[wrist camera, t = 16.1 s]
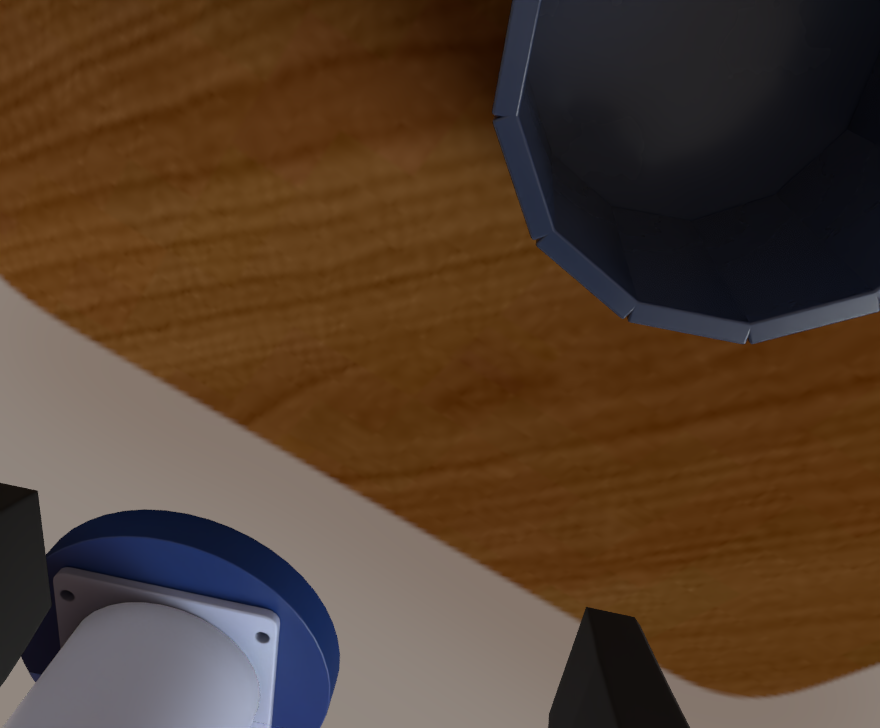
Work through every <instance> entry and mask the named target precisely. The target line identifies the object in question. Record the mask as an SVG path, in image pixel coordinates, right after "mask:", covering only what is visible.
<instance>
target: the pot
mask: <svg viewBox="0 0 880 728" xmlns="http://www.w3.org/2000/svg"><path fill="white" fill-rule="evenodd" d="M492 114H493V115H495V116H494V119H493V126H494V129H495V132H496V135H497V138H498V141H499V144H500V147H501V149H502V152H503V155H504V158H505V161H506V164H507V167H508V170H509V173H510V176H511V179H512V182H513V185H514V188H515V191H516V194H517V197H518V200H519V203H520V206H521V209H522V212H523V215H524V218H525V221H526V224H527V227H528V230H529V233H530V236H531V238H532V239H533V240H536V246H537V247H538V248H539V249H540V250H542V251H543V252H544V253H545V254H546V255H548V256H549V257H550V258H551V259H552V260H553V261H555V262H556V263H557V264H558V265H559V266H560V267H562V268H563V269H564V270H565V271H566V272H567V273H569V274H570V275H571V276H572V277H573V278H575V279H576V280H577V281H578V282H579V283H580V284H582V285H583V286H584V287H585V288H586V289H587V290H589V291H590V292H591V293H592V294H593V295H594V296H596V297H597V298H598V299H599V300H600V301H602V302H603V303H604V304H605V305H606V306H607V307H609V308H610V309H611V310H612V311H613V312H614V313H616V314H617V315H618V316H619V317H620V318H622V319H624V318H625V317H626V316H627V319H628V321H629V322H631V323H637V324H642V325H647V326H652V327H657V328H662V329H667V330H672V331H678V332H683V333H688V334H693V335H698V336H703V337H708V338H713V339H719V340H724V341H729V342H734V343H739V344H745V343H746V341H747V339H748V341H749V342H750V343H751V344H755V343H759V342H763V341H766V340H770V339H774V338H778V337H782V336H786V335H790V334H794V333H798V332H802V331H806V330H809V329H813V328H817V327H821V326H825V325H829V324H833V323H837V322H841V321H845V320H849V319H852V318H856V317H860V316H864V315H868V314H872V313H876V312H879V311H880V0H512V4H511V10H510V15H509V21H508V26H507V32H506V37H505V43H504V48H503V54H502V59H501V64H500V70H499V75H498V81H497V86H496V92H495V97H494V103H493V108H492Z"/></svg>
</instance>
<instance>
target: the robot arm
mask: <svg viewBox="0 0 880 728" xmlns="http://www.w3.org/2000/svg"><path fill="white" fill-rule="evenodd" d="M53 585H54V594H55V603H56V612H57V621H58V629H59V638H60V647H61V649H60V651H59V652H58V653H57V655H56V656H55V657H54V659H53V660H52V661H51V663H50V664H49V665H48V667H47V668H46V670H45V671H44V672H43V674H42V675H41V676H40V678H39V679H38V680H37V682H36V683H35V684H34V686H33V687H32V688H31V690H30V691H29V692H28V694H27V695H26V696H25V698H24V699H23V701H22V702H21V703H20V704H19V706H18V707H17V708H16V710H15V711H14V712H13V714H12V715H11V716H10V718H9V719H8V720H7V722H6V723H5V725H4V726H3V727H2V728H272V716H273V704H274V692H275V680H276V668H277V655H278V643H279V631H280V619H279V617H278V616H277V614H276V613H274V612H273V611H271V610H268V609H264V608H260V607H255V606H250V605H246V604H241V603H236V602H231V601H227V600H222V599H217V598H213V597H208V596H203V595H199V594H194V593H189V592H184V591H180V590H175V589H170V588H166V587H161V586H156V585H152V584H147V583H142V582H138V581H133V580H128V579H123V578H119V577H114V576H109V575H105V574H100V573H95V572H91V571H86V570H81V569H76V568H72V567H65V568H61V570H60V571H59V572H58V573H57V574H56V575H55V576H54V579H53ZM51 606H52V604H51V596H50V588H49V579H48V571H47V563H46V555H45V547H44V539H43V531H42V522H41V515H40V506H39V498H38V491H36V490H31V489H27V488H22V487H17V486H12V485H8V484H3V483H0V686H1V685H2V684H3V682H4V681H5V680H6V678H7V677H8V675H9V674H10V672H11V671H12V669H13V667H14V666H15V665H16V663H17V661H18V660H19V658H20V657H21V655H22V654H23V652H24V651H25V649H26V647H27V646H28V644H29V643H30V641H31V639H32V638H33V636H34V634H35V633H36V631H37V629H38V628H39V626H40V624H41V623H42V621H43V619H44V618H45V616H46V614H47V613H48V611H49V609H50V608H51ZM262 632H263V633H262ZM264 633H266V634H264ZM548 728H690V727H689V725H688V723H687V721H686V719H685V717H684V715H683V713H682V711H681V709H680V707H679V705H678V703H677V701H676V699H675V697H674V695H673V693H672V691H671V689H670V687H669V685H668V683H667V681H666V679H665V677H664V675H663V673H662V671H661V669H660V667H659V665H658V662H657V660H656V658H655V656H654V654H653V652H652V650H651V648H650V646H649V644H648V641H647V639H646V637H645V635H644V633H643V631H642V629H641V627H640V625H639V623H638V622H637V620H636V619H635V617H631V616H626V615H621V614H617V613H612V612H607V611H603V610H598V609H593V608H588V607H586V609H585V612H584V615H583V618H582V621H581V624H580V627H579V630H578V632H577V635H576V638H575V641H574V644H573V647H572V650H571V652H570V656H569V658H568V661H567V664H566V667H565V670H564V673H563V676H562V678H561V681H560V684H559V687H558V690H557V693H556V696H555V698H554V701H553V704H552V707H551V710H550V713H549V726H548Z"/></svg>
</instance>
